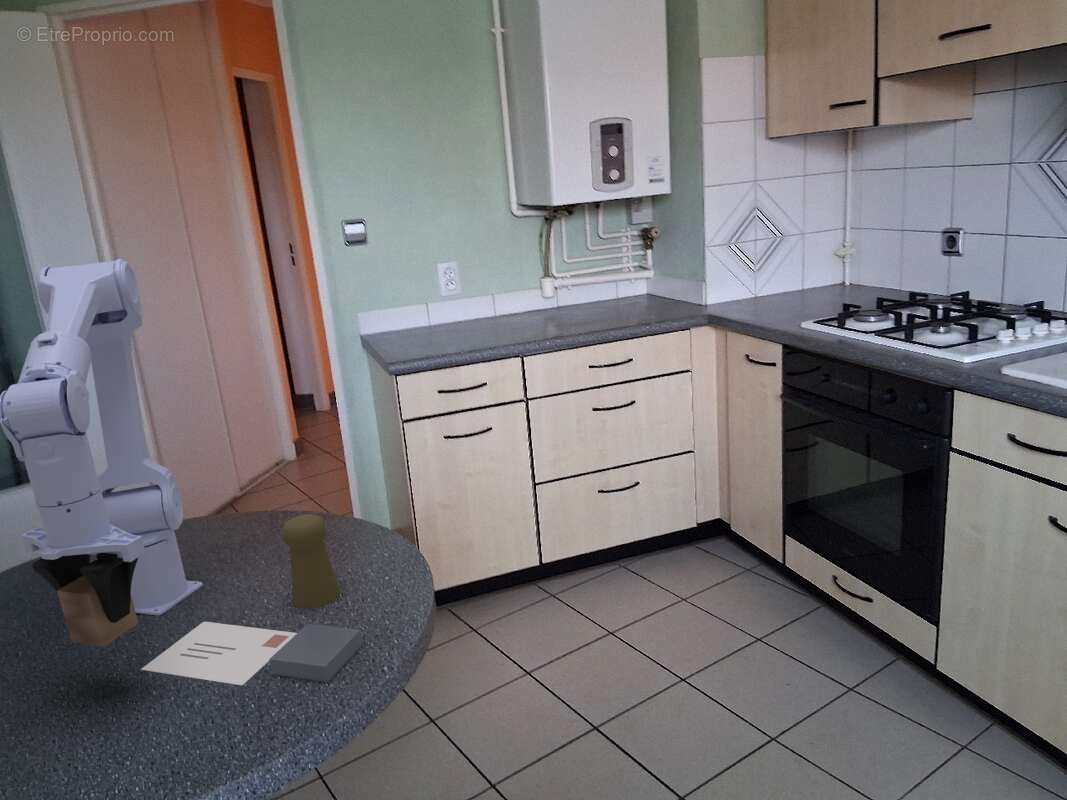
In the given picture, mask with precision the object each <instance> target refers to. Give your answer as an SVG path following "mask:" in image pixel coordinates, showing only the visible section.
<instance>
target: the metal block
mask: <svg viewBox="0 0 1067 800" xmlns="http://www.w3.org/2000/svg"><path fill="white" fill-rule="evenodd" d="M296 633H297V634H296V635H295V636H294V637H293V638H292V639H291V640H289V641H288V642H287V643H286V644H285V645H284V646H283V647H282V648H281V649H280V650H279V651H278V652H277V653H275V654H274V655H273V656H272V657H271V658H270V659H269V660H270V661H269V663H270V665H269V666H270V669H271V672H272V673H271V674H272V675H273V676H280V677H288V678H295V679H301V680H308V681H316V682H321V683H329V682H330V681H331V680H332V679H333V678H334V677H335V675H336V674H337V673H339V671H340V670H341V669H342V668H343V667H344V666H345V665H346V664H347V662H349V660H351V659H352V657H353V656H354V655H355V654H356V653H357V652H358V651H359V650H360V648H361V647H362V646H363V645H364V643H363V637H362V633H361V629H355V628H346V627H339V626H330V625H329V626H328V625H322V624H313V623H307V624H306V625H304V626H303V627H302V628H301V629H300V630H299V631H298V632H296Z"/></svg>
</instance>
